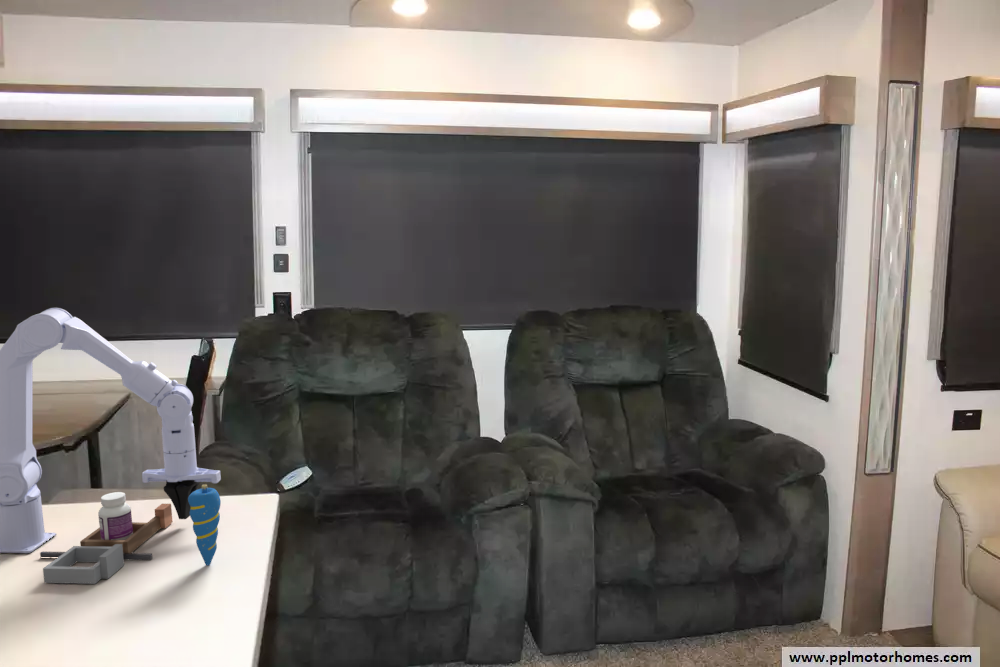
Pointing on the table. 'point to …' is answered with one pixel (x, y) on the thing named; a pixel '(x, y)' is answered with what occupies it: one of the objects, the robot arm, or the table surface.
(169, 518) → the frame
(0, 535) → the robot arm
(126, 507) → the pill bottle
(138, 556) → the rail
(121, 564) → the gray rectangular frame
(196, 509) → the ornament
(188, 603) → the table surface
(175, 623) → the table surface
